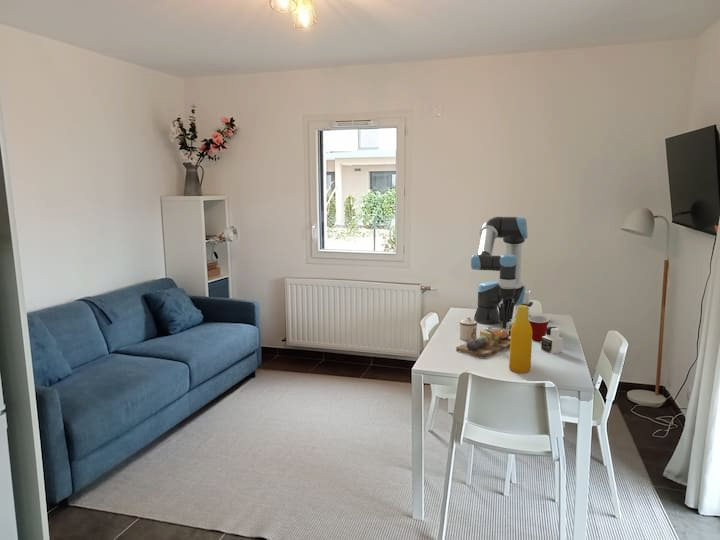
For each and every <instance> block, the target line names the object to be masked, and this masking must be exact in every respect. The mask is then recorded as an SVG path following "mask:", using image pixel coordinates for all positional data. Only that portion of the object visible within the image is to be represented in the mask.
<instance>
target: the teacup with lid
mask: <svg viewBox="0 0 720 540" xmlns="http://www.w3.org/2000/svg"><path fill="white" fill-rule="evenodd" d="M477 325H478V322H476V321H474V319H472V318H471V316H466V318H464V319H461V320H460V321H459V339H460V340H463V341H467V340H468V341H469V340H475V339H477V332H478V331H477ZM468 341H467V342H468Z"/></svg>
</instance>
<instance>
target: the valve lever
mask: <svg viewBox="0 0 720 540" xmlns="http://www.w3.org/2000/svg"><path fill="white" fill-rule="evenodd" d="M485 329H486V330H488V331H491V332H493V334H495V335H497V336H499V337H502V338H504V337H508V333H506V332H504V331H501V329H495V328H493V327H490V326H488V327H486V328H485ZM508 338H509V337H508Z"/></svg>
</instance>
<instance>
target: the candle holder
mask: <svg viewBox="0 0 720 540" xmlns="http://www.w3.org/2000/svg"><path fill="white" fill-rule="evenodd" d="M522 305H526V306H528V318H529V317H530V313H531V312H530V309H531V308H530V307H532V306H533V305H534V302H533V301H531V289H530V290H528V291H525V294H524V300H523V303H522ZM517 307H518V305H515V306H514V317H515V318H516V314H517Z"/></svg>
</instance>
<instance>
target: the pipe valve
mask: <svg viewBox="0 0 720 540" xmlns="http://www.w3.org/2000/svg"><path fill="white" fill-rule="evenodd" d="M486 329H487V328H485V329H483V330H479V337H478V338H476V339H475V340H469V341H467V342H466V343H464V344H460V345H457V346H456V350H455V351H456V352H459V351H460V353H464V354H466V353H467V355H469V356H473V357H474V356H475V357H478V358H481V359H485V358H488V357H491V356H494V355H496V354H498V353H501V352H504V351H506V350H508V349H509V350H510V337H511V332H509V335H508V337H504V338H502V337H499V336H497V335H495V334H493V332H491V331H488V330H486ZM500 330H501V331H502V328H501V329H500Z"/></svg>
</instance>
